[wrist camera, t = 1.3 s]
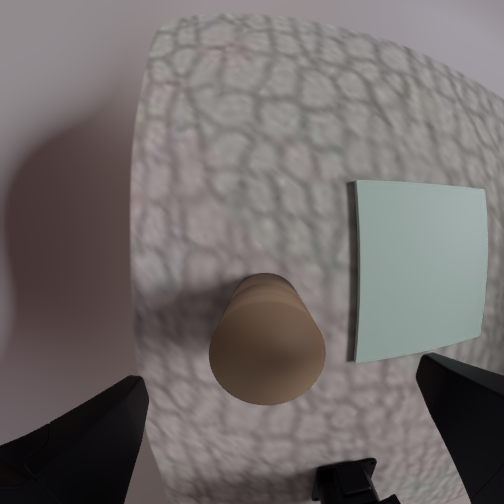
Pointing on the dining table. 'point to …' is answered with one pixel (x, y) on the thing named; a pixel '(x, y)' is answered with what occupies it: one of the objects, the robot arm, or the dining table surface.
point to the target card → (418, 267)
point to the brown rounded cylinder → (266, 343)
